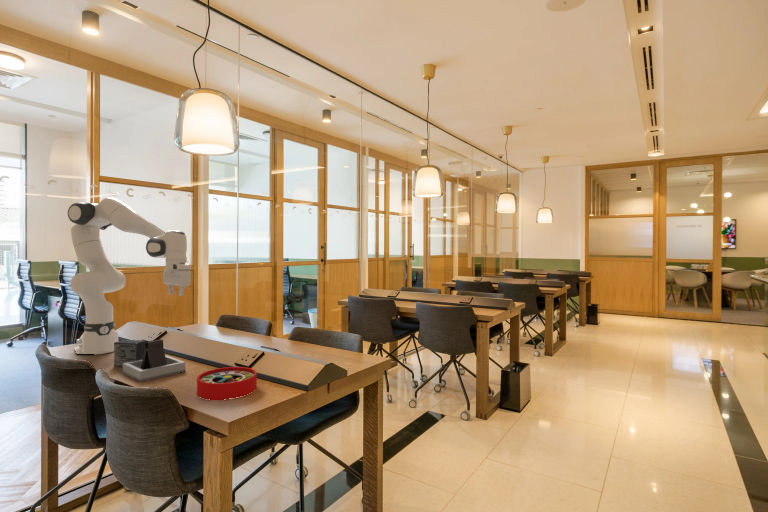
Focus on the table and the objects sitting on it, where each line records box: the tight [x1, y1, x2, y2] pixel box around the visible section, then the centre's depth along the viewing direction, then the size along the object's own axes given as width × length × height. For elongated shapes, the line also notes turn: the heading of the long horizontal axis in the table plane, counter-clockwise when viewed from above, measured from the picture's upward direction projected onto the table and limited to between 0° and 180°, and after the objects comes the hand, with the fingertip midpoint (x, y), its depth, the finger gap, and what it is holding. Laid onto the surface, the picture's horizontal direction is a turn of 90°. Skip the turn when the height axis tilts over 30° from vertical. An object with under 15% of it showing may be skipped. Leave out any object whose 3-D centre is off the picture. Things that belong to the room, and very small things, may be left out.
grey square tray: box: [122, 354, 186, 383], centre depth 169 cm, size 17×17×4 cm
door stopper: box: [141, 338, 167, 370], centre depth 169 cm, size 9×6×12 cm, turn 59°
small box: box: [113, 339, 147, 368], centre depth 179 cm, size 11×6×10 cm, turn 84°
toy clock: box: [196, 366, 258, 401], centre depth 149 cm, size 20×6×20 cm
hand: (176, 294), depth 194 cm, fingers open, 8 cm apart
